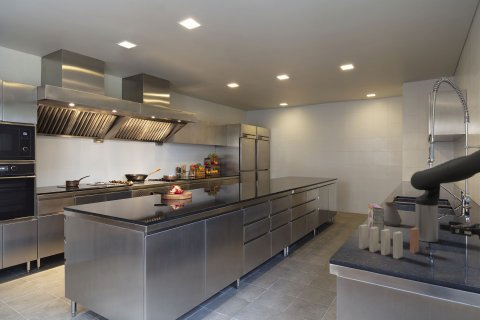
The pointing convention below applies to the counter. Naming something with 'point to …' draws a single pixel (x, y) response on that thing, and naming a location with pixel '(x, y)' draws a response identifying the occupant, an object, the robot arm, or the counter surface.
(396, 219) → the coffee pot
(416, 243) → the domino
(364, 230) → the domino
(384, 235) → the domino
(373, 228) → the domino
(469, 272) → the counter surface
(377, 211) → the candy bar box
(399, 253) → the domino
